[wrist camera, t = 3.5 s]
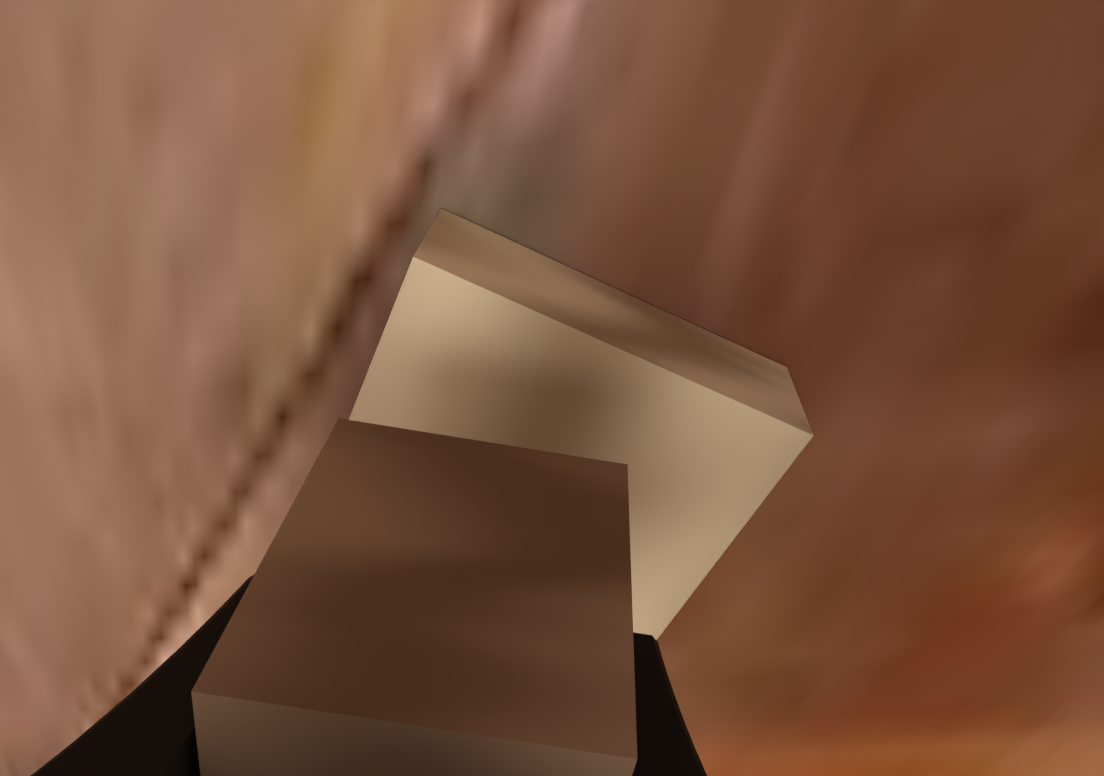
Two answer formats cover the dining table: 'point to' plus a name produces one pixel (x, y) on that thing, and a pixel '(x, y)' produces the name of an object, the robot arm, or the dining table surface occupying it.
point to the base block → (589, 395)
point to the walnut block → (432, 619)
